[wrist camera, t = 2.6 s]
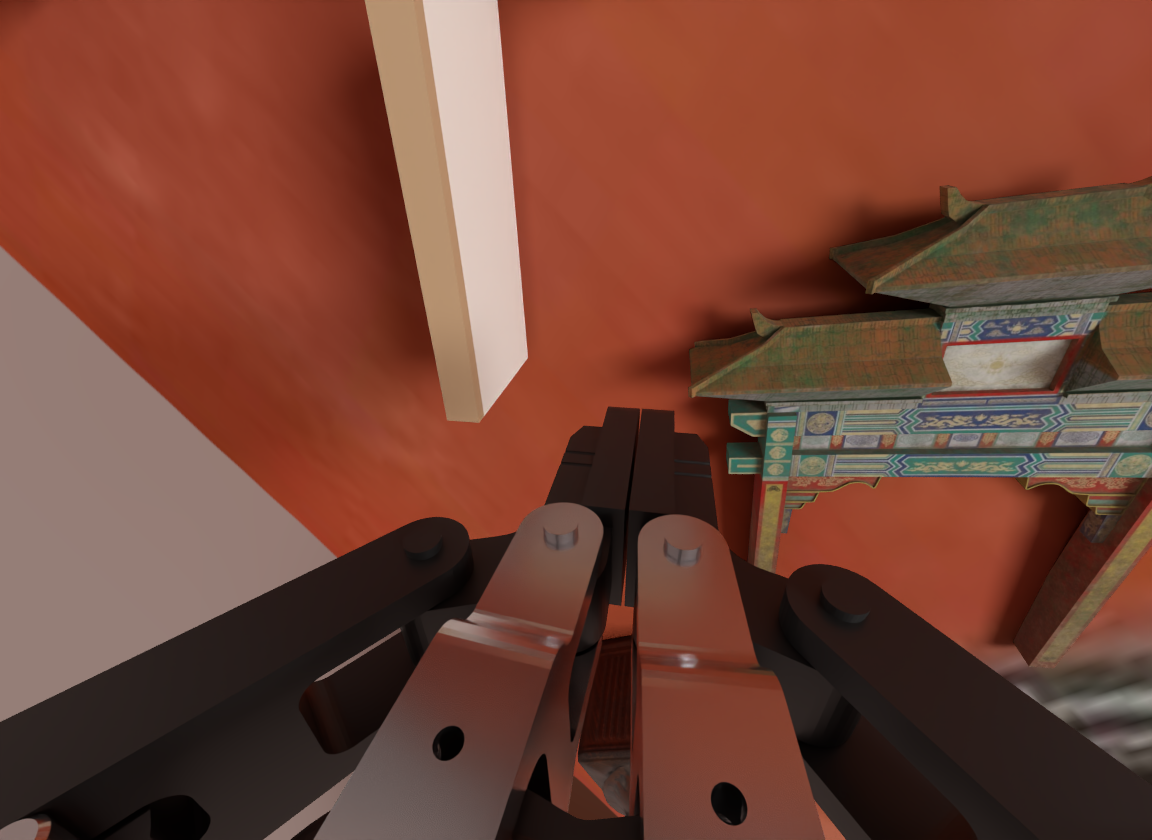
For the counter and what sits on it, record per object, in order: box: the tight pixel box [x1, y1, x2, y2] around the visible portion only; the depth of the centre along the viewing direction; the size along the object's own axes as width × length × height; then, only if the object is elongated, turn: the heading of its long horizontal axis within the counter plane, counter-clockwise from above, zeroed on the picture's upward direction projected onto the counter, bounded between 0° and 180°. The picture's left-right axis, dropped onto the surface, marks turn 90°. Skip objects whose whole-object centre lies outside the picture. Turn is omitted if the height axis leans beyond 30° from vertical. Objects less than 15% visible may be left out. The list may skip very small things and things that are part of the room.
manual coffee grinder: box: [578, 636, 632, 817], centre depth 33 cm, size 16×11×18 cm
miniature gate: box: [688, 176, 1152, 668], centre depth 24 cm, size 27×6×30 cm
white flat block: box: [365, 0, 528, 423], centre depth 19 cm, size 16×2×8 cm, turn 2°
